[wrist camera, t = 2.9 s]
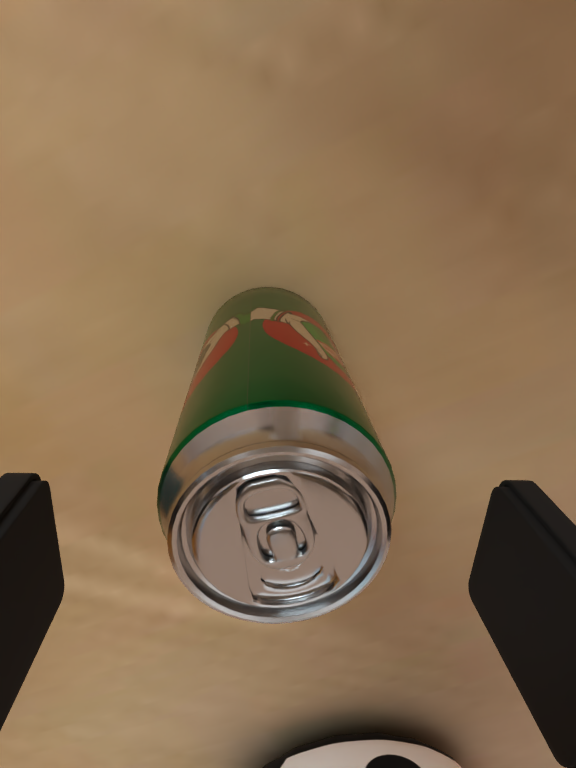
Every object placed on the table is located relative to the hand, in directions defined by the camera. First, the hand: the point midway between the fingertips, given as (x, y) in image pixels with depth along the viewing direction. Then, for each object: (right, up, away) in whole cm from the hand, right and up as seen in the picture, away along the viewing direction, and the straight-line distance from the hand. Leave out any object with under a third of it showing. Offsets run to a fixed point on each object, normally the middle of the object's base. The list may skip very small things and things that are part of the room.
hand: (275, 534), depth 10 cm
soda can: (-1, +5, +10) cm, 11 cm away
